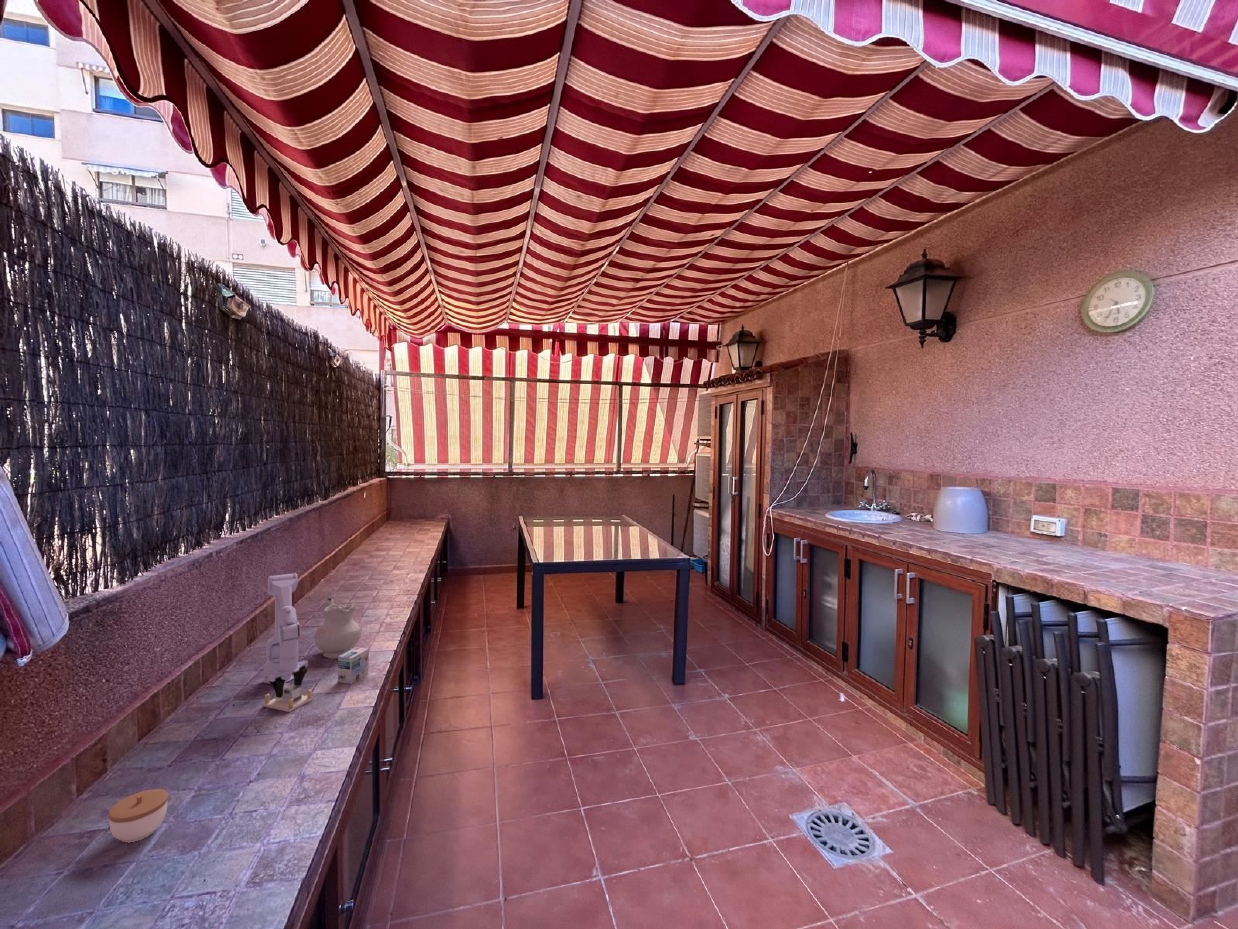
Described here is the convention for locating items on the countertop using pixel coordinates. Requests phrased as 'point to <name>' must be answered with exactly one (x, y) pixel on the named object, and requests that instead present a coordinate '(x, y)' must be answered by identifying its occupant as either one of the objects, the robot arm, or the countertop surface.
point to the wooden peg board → (289, 706)
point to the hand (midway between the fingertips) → (288, 692)
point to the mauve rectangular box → (290, 693)
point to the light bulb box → (353, 665)
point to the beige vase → (337, 630)
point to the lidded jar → (138, 815)
